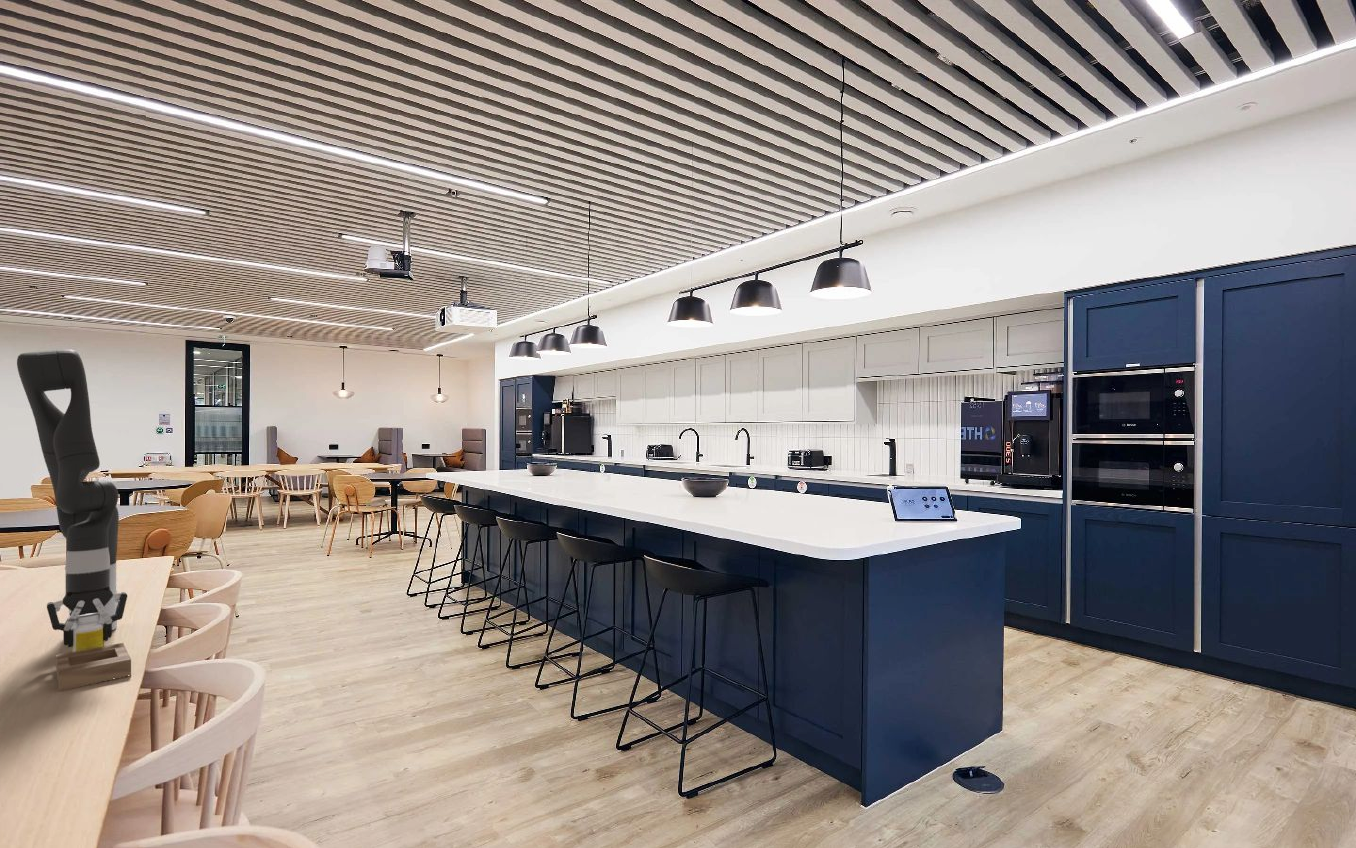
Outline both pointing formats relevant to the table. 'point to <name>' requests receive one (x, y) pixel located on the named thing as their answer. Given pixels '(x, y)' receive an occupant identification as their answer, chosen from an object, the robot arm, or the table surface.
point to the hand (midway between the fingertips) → (88, 643)
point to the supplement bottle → (87, 632)
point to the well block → (92, 666)
